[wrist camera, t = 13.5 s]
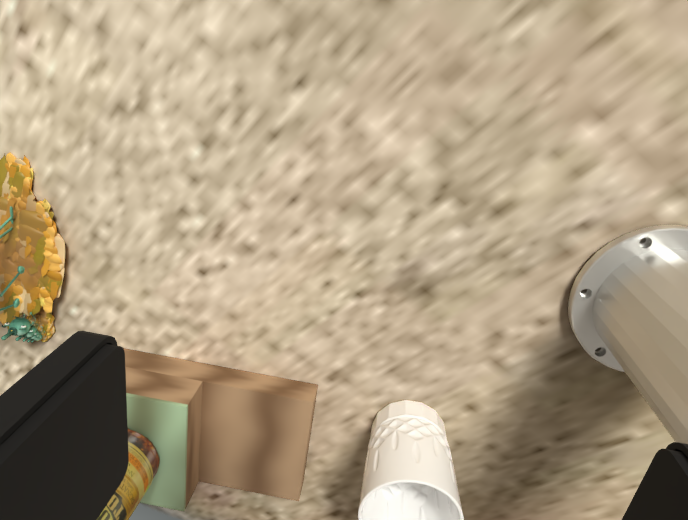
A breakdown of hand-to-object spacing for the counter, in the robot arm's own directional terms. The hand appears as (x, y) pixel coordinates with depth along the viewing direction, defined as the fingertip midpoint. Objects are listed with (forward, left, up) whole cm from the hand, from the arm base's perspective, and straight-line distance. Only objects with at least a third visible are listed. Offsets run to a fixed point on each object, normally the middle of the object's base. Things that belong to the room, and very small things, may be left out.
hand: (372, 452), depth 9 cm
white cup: (-6, +25, -31) cm, 40 cm away
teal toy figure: (+31, +14, -31) cm, 46 cm away
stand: (+13, +28, -30) cm, 43 cm away
